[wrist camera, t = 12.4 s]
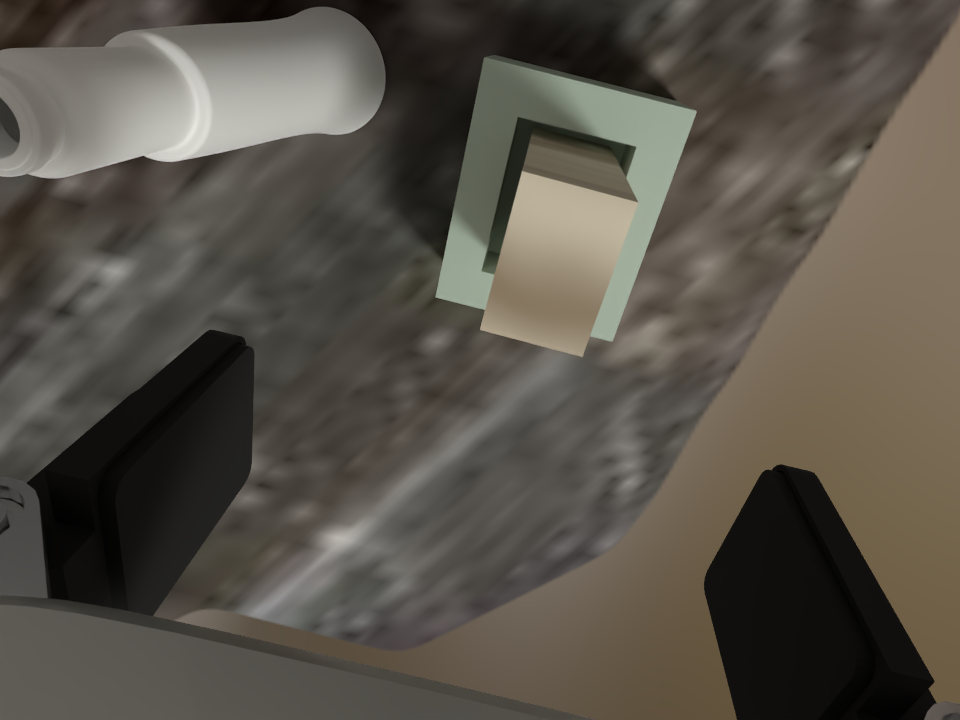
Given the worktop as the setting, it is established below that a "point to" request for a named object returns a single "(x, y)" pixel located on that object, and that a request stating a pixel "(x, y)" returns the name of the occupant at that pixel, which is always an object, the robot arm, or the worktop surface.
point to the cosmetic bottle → (186, 92)
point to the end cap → (501, 155)
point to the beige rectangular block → (560, 243)
